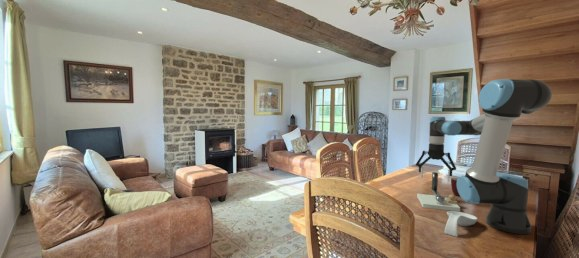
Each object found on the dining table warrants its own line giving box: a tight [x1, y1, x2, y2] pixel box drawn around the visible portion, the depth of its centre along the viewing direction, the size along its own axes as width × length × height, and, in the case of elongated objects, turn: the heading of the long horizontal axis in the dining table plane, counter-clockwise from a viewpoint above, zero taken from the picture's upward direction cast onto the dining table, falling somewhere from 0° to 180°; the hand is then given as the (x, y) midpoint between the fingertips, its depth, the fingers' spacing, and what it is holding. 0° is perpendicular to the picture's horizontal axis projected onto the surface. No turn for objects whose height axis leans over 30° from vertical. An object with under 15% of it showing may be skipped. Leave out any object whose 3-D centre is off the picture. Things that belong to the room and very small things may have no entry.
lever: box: [431, 171, 445, 201], centre depth 140 cm, size 16×4×12 cm, turn 162°
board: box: [416, 193, 461, 212], centre depth 140 cm, size 18×17×6 cm
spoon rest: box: [443, 210, 479, 238], centre depth 111 cm, size 24×12×7 cm, turn 135°
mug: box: [450, 177, 461, 197], centre depth 154 cm, size 11×8×10 cm
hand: (434, 179), depth 146 cm, fingers open, 13 cm apart
